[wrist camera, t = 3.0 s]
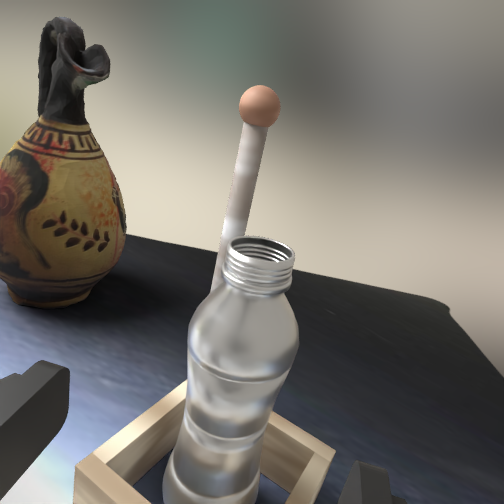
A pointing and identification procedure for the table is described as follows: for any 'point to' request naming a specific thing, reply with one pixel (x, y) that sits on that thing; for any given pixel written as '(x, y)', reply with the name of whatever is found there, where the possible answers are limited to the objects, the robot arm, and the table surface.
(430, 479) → the table surface
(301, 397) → the table surface
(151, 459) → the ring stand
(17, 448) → the robot arm
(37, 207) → the ceramic jug
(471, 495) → the table surface
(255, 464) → the plastic bottle
